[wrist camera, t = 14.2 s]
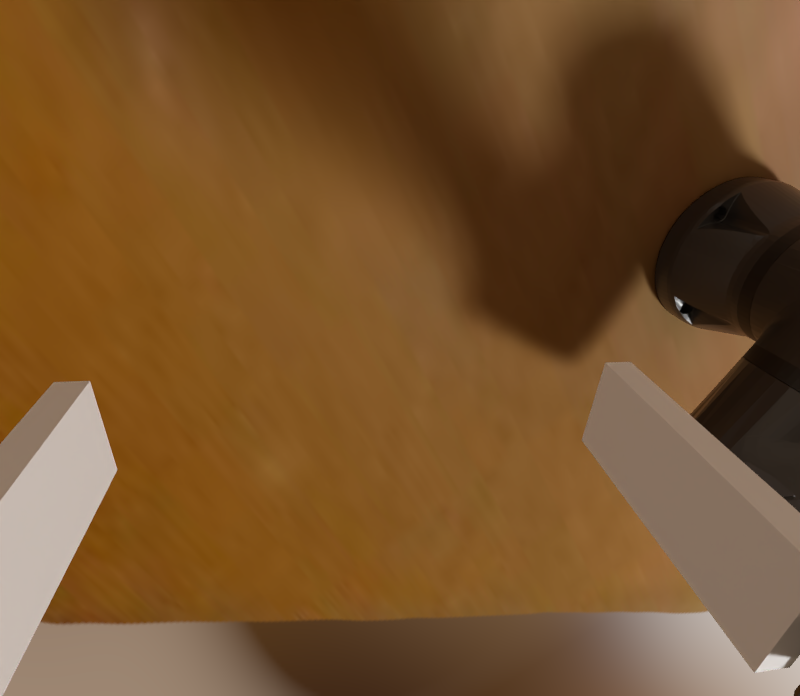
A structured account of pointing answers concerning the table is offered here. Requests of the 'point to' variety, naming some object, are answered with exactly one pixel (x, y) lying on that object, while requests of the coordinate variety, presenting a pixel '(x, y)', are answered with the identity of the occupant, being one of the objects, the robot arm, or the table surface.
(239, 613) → the table surface
